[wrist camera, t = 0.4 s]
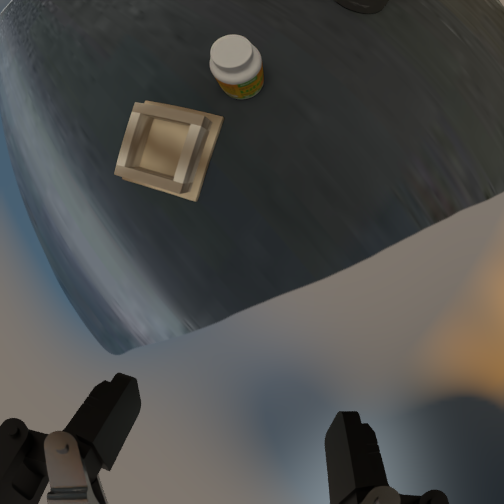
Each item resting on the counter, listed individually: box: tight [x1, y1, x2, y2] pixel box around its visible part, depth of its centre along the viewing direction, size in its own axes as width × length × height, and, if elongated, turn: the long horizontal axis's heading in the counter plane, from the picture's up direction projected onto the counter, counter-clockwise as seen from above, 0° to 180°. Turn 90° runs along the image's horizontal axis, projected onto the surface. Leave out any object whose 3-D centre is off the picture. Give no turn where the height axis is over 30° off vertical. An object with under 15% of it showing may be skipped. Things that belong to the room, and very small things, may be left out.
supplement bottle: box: [210, 35, 264, 99], centre depth 25 cm, size 5×5×10 cm
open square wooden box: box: [114, 101, 224, 202], centre depth 30 cm, size 11×11×5 cm
